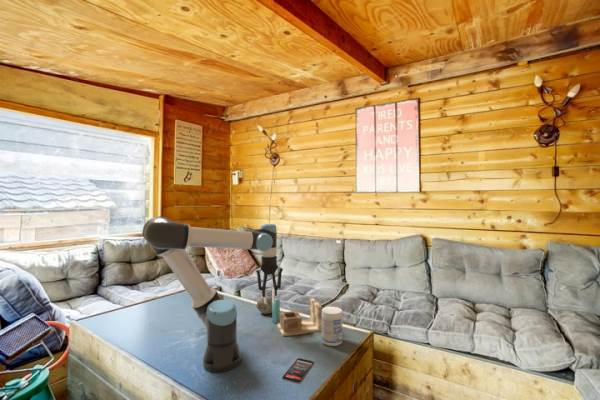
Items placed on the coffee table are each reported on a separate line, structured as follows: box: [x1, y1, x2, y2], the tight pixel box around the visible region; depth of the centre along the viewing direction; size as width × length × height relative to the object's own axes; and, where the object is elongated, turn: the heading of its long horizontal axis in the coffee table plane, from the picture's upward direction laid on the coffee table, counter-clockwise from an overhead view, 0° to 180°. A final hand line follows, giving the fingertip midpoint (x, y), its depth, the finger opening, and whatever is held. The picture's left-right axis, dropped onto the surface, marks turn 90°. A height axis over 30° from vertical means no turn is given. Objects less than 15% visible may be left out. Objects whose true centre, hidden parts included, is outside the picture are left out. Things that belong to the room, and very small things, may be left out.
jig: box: [276, 297, 323, 338], centre depth 154 cm, size 13×20×12 cm, turn 107°
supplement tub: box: [321, 306, 343, 347], centre depth 139 cm, size 10×10×15 cm
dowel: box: [271, 297, 281, 324], centre depth 161 cm, size 4×4×12 cm
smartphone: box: [281, 357, 315, 384], centre depth 117 cm, size 7×1×15 cm
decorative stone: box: [256, 295, 272, 315], centre depth 173 cm, size 10×8×10 cm
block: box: [279, 310, 303, 332], centre depth 152 cm, size 9×9×6 cm
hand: (269, 302), depth 149 cm, fingers open, 3 cm apart
